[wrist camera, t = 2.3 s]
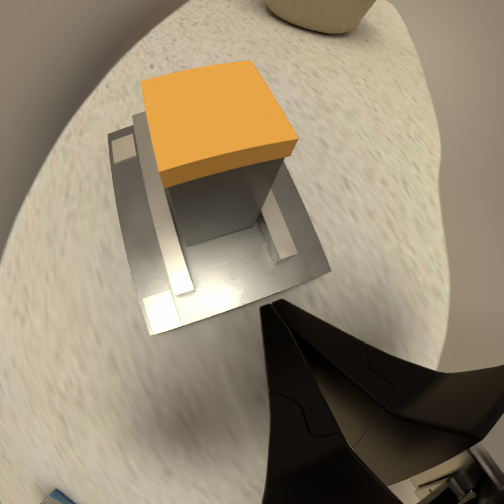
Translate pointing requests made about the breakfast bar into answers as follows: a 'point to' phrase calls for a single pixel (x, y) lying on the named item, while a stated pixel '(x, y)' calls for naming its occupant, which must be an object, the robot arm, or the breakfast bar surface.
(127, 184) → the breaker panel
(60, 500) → the medicine box
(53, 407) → the breakfast bar surface
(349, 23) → the canister
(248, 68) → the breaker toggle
